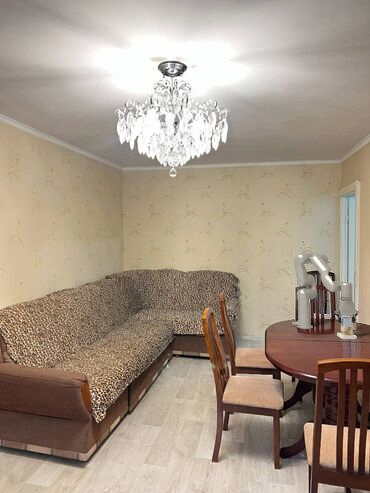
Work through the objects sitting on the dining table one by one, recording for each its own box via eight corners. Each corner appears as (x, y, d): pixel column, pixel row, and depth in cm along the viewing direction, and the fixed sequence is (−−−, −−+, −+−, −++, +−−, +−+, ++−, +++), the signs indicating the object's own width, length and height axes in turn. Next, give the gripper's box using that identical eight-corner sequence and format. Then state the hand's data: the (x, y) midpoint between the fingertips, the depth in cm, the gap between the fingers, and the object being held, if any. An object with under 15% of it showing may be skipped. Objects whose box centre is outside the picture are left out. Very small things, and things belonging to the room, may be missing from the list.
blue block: (344, 327, 262) (344, 318, 262) (341, 325, 267) (341, 317, 267) (351, 327, 262) (351, 318, 262) (348, 325, 267) (348, 317, 267)
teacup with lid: (357, 329, 288) (357, 314, 288) (355, 331, 281) (355, 316, 280) (341, 327, 295) (341, 312, 295) (338, 329, 288) (338, 314, 287)
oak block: (344, 335, 262) (344, 327, 262) (340, 333, 268) (340, 325, 268) (352, 335, 262) (352, 327, 262) (349, 333, 268) (349, 325, 268)
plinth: (342, 339, 260) (342, 336, 260) (337, 335, 270) (337, 332, 270) (356, 338, 260) (356, 336, 260) (350, 335, 270) (350, 332, 270)
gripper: (336, 300, 261) (336, 324, 261) (360, 300, 261) (361, 323, 261) (332, 298, 268) (332, 321, 269) (356, 298, 268) (356, 321, 268)
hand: (346, 322), depth 265 cm, fingers open, 9 cm apart
